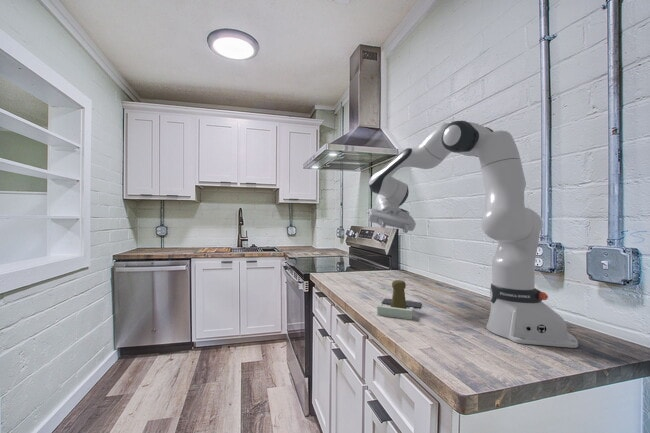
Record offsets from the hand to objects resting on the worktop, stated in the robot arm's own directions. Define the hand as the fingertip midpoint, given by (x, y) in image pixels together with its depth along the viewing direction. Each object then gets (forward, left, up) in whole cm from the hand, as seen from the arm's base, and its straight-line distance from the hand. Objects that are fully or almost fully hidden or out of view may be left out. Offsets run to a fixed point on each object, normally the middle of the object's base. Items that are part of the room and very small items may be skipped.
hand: (394, 228), depth 118 cm
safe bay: (-2, +13, -31) cm, 33 cm away
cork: (-2, +4, -31) cm, 31 cm away
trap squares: (-2, -3, -31) cm, 31 cm away
